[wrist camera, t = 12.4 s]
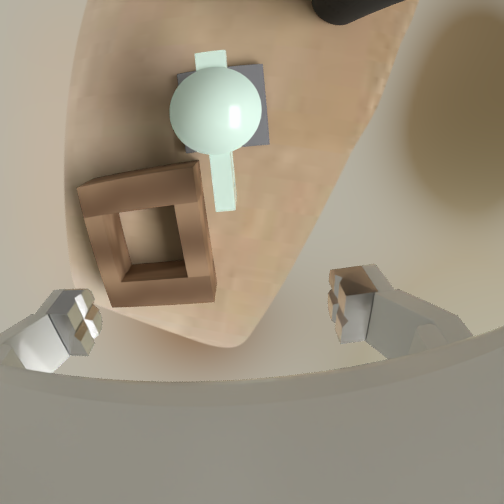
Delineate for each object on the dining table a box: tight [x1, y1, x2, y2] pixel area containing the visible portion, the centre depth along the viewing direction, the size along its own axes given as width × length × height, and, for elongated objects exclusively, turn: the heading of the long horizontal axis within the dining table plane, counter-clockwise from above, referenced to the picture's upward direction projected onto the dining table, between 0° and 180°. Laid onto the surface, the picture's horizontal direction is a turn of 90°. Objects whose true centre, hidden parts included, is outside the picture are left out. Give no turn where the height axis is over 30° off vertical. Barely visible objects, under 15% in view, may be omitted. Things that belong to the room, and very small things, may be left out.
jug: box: [170, 50, 262, 212], centre depth 23 cm, size 11×6×9 cm, turn 4°
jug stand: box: [77, 161, 217, 307], centre depth 30 cm, size 14×12×4 cm
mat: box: [177, 64, 270, 153], centre depth 26 cm, size 8×8×1 cm
